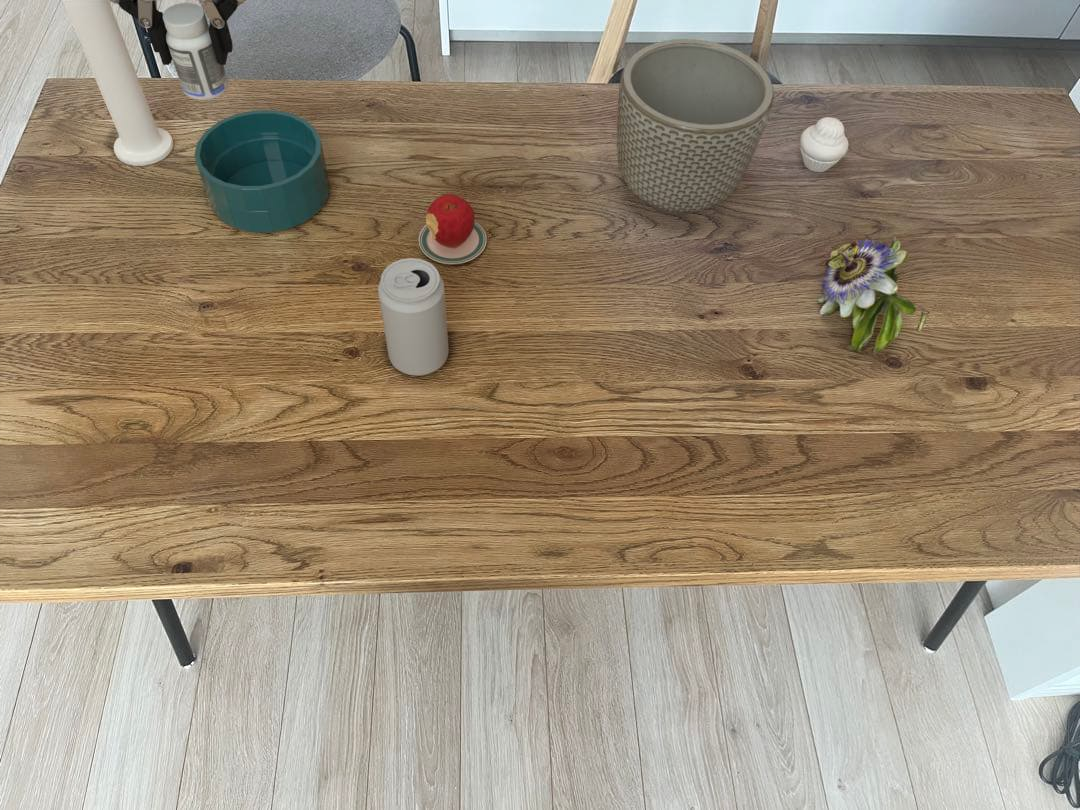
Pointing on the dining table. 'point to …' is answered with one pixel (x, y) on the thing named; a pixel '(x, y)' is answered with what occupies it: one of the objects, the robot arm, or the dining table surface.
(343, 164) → the dining table surface
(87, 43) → the candle
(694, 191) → the planter
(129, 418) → the dining table surface
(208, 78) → the pill bottle
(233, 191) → the teal pet bowl
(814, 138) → the muffin
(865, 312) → the passion flower
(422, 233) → the apple
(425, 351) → the beverage can
